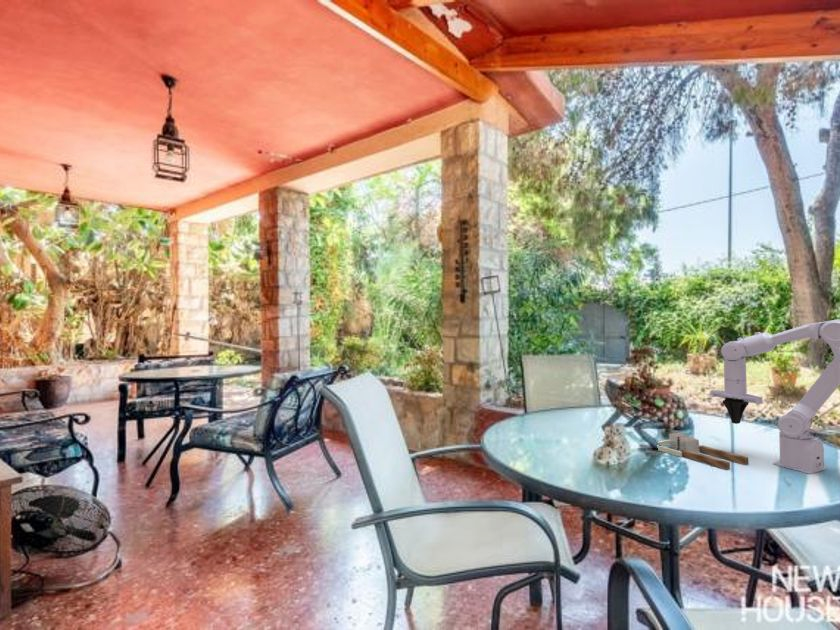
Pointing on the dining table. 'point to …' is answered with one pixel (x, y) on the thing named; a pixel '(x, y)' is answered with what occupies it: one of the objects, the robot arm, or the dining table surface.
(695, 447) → the grey brown cube
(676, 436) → the greyish beige cube
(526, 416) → the dining table surface
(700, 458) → the slot rails
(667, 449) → the beige open frame
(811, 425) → the robot arm
